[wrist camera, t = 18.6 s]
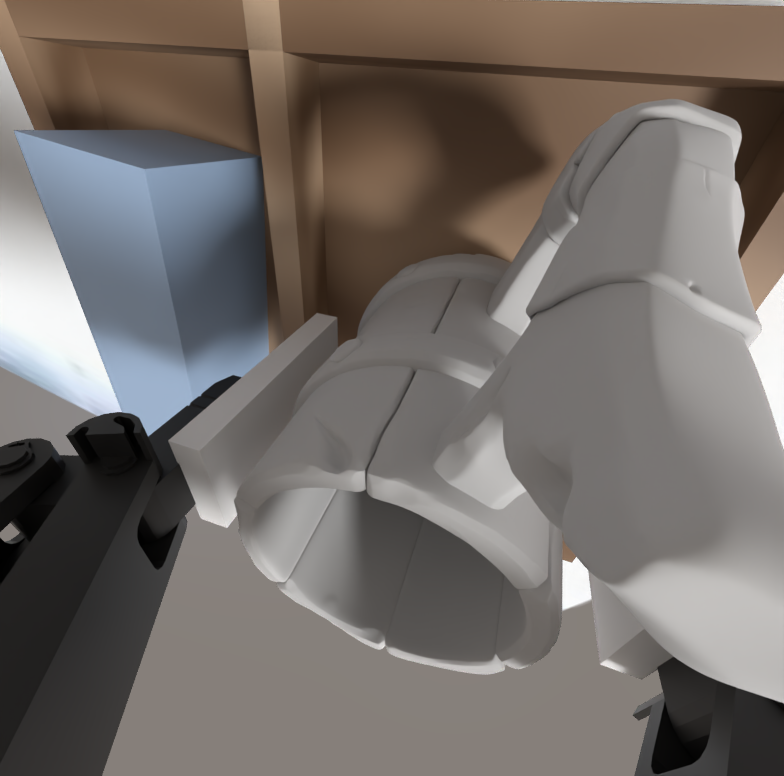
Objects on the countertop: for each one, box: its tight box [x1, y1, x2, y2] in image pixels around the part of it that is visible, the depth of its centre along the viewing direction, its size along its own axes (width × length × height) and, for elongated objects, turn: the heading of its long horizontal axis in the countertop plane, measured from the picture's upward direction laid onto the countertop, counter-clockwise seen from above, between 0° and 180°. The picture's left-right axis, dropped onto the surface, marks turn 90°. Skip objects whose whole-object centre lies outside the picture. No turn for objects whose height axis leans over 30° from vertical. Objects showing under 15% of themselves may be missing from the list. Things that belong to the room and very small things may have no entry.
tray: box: [0, 0, 784, 562], centre depth 15 cm, size 18×23×2 cm
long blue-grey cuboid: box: [14, 130, 269, 436], centre depth 15 cm, size 12×4×5 cm, turn 169°
